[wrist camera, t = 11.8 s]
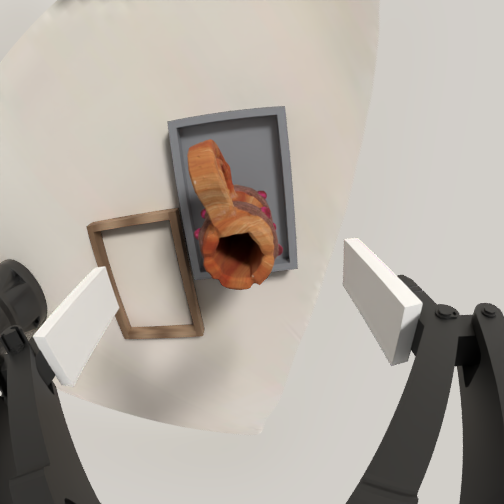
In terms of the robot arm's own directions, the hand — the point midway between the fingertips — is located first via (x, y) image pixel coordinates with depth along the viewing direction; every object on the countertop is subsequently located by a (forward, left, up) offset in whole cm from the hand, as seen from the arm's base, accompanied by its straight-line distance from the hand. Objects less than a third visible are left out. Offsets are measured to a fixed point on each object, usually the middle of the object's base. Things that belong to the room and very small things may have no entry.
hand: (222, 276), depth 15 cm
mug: (0, 0, -23) cm, 23 cm away
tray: (0, 0, -24) cm, 24 cm away
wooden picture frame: (-15, -11, -24) cm, 30 cm away
